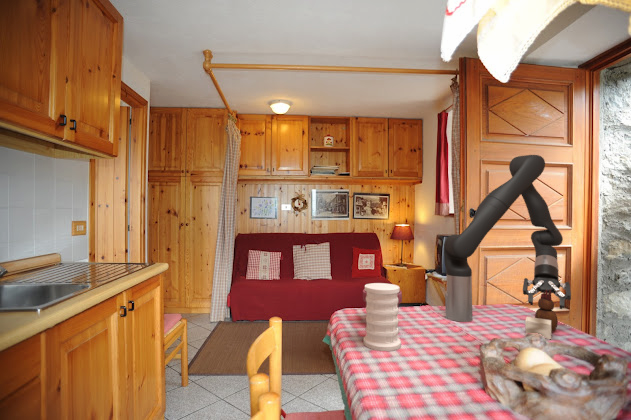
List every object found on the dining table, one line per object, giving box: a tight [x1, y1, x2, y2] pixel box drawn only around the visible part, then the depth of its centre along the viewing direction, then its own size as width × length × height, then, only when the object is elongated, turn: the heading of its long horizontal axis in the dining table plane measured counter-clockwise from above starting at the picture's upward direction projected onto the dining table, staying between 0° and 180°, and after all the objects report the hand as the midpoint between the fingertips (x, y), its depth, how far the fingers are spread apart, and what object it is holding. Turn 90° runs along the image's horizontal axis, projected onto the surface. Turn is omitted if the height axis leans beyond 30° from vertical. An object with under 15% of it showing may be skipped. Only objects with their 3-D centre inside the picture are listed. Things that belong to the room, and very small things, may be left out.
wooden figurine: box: [534, 289, 559, 333], centre depth 114 cm, size 7×6×15 cm
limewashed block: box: [524, 316, 552, 340], centre depth 109 cm, size 7×6×5 cm
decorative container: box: [363, 282, 402, 352], centre depth 102 cm, size 12×12×18 cm
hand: (546, 305), depth 114 cm, fingers open, 8 cm apart
